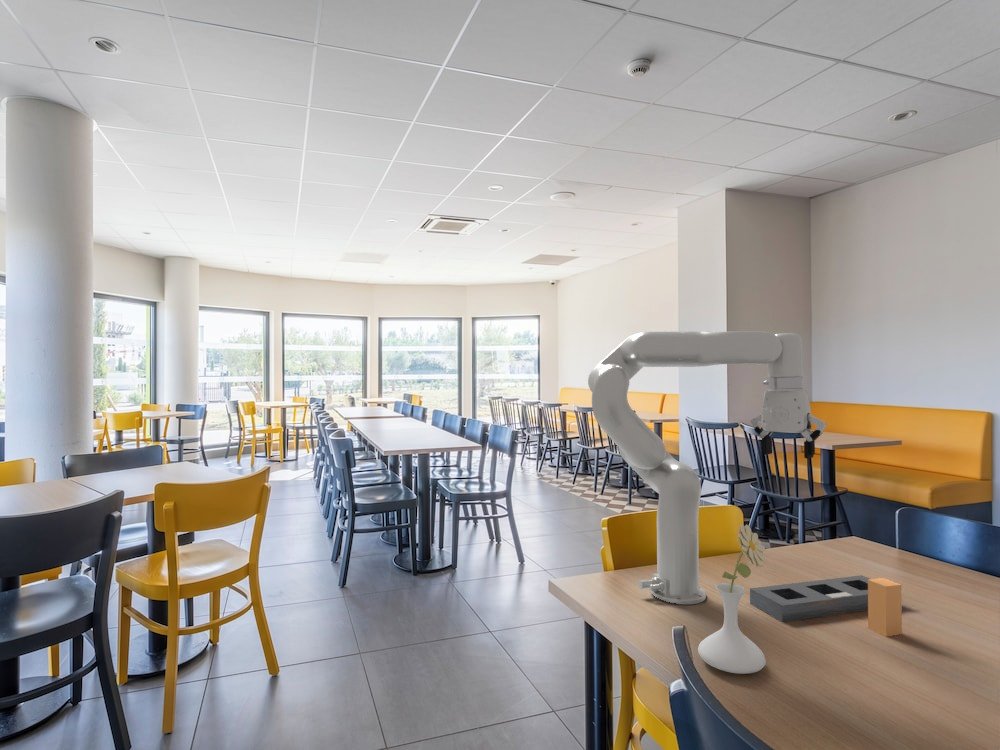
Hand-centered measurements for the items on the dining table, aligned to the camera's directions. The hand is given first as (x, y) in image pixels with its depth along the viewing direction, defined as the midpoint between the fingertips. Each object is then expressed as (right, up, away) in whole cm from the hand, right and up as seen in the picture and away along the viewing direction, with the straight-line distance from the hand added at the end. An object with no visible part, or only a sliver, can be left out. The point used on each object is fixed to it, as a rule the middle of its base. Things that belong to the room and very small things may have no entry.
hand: (787, 455), depth 134 cm
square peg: (+10, -33, -20) cm, 40 cm away
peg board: (+5, -33, -7) cm, 34 cm away
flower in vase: (-26, -33, -32) cm, 53 cm away
